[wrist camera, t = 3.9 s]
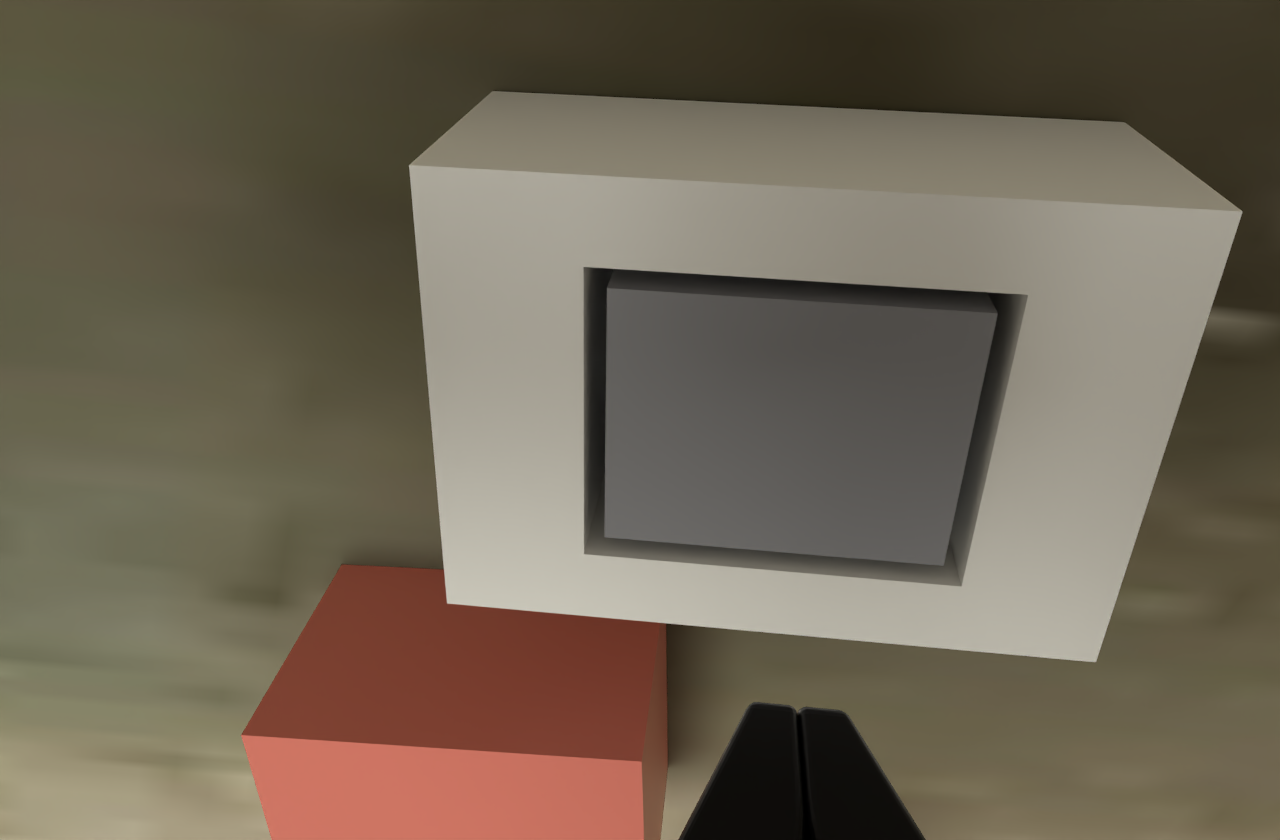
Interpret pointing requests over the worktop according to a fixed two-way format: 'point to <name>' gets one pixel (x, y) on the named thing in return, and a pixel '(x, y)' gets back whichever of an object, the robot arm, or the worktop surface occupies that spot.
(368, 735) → the salmon red block
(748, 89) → the worktop surface
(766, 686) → the worktop surface
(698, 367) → the button
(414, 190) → the box
